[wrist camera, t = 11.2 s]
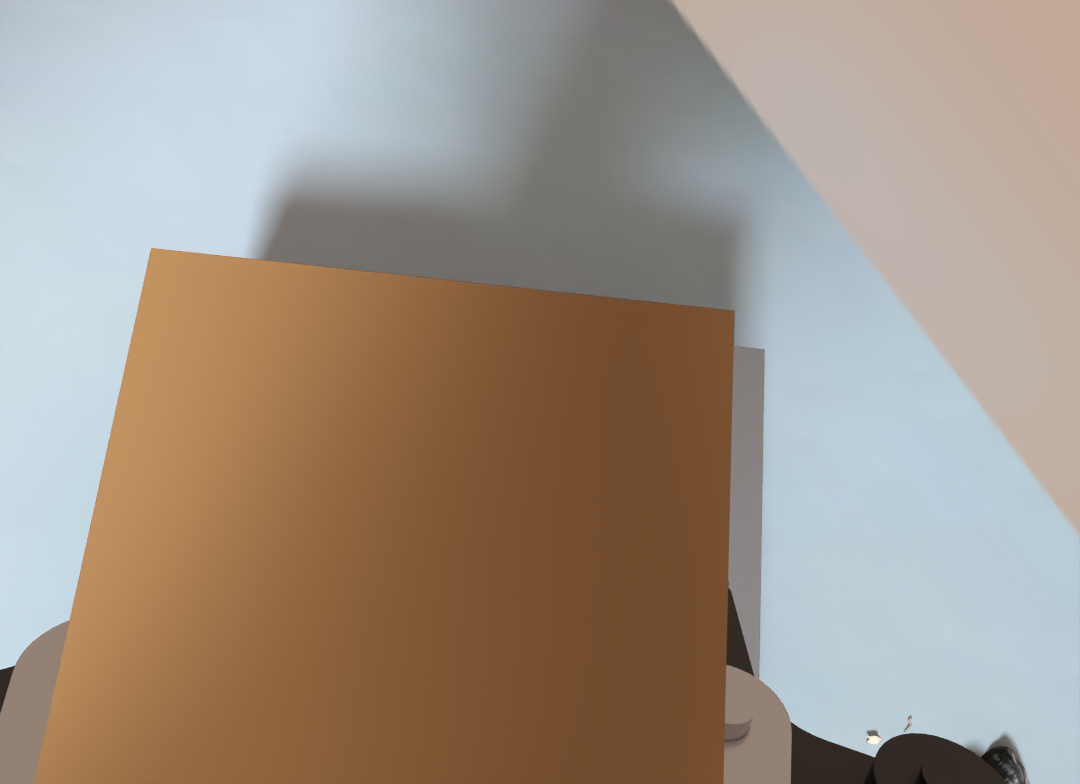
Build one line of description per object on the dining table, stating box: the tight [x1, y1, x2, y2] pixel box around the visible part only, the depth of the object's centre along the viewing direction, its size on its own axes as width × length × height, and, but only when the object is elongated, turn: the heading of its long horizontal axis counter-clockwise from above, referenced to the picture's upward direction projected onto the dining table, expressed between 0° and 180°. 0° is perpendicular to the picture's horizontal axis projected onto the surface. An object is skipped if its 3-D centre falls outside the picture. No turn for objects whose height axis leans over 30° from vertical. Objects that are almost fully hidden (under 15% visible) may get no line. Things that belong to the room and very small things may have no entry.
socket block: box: [728, 346, 764, 679], centre depth 22 cm, size 14×14×5 cm
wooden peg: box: [34, 248, 735, 784], centre depth 11 cm, size 4×4×12 cm
